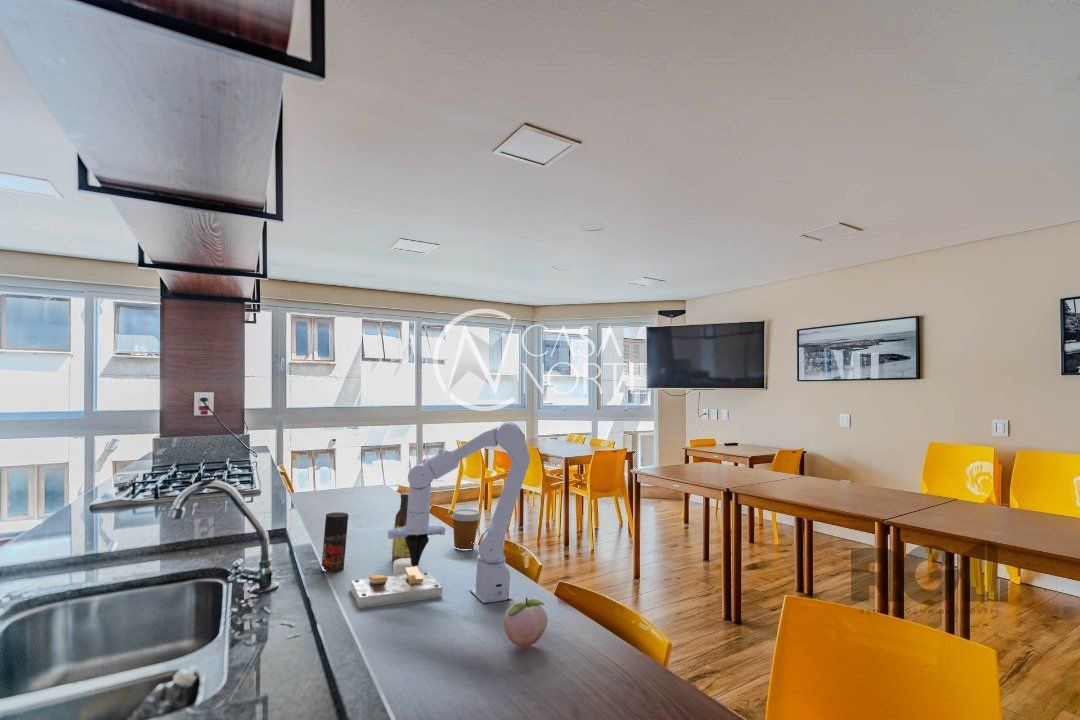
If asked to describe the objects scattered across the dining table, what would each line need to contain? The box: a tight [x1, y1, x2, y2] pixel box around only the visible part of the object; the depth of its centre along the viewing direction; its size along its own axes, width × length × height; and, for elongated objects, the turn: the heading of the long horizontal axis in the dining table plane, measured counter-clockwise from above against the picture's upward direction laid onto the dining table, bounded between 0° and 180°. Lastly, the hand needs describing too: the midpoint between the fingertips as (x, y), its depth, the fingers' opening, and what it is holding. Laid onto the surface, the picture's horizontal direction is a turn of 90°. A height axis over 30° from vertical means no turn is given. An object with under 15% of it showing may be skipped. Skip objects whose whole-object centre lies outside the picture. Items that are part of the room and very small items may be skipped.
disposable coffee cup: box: [451, 508, 481, 550], centre depth 174 cm, size 10×10×12 cm
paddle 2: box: [405, 566, 423, 584], centre depth 134 cm, size 6×3×1 cm, turn 28°
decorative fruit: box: [503, 597, 548, 649], centre depth 107 cm, size 9×8×10 cm
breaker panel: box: [350, 571, 443, 609], centre depth 131 cm, size 12×20×3 cm, turn 119°
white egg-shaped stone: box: [392, 558, 421, 576], centre depth 144 cm, size 7×7×4 cm
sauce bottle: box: [391, 492, 410, 562], centre depth 158 cm, size 6×6×20 cm
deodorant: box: [321, 511, 349, 574], centre depth 147 cm, size 6×6×15 cm
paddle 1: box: [368, 574, 387, 583], centre depth 130 cm, size 6×3×1 cm, turn 30°
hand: (414, 564), depth 135 cm, fingers closed
